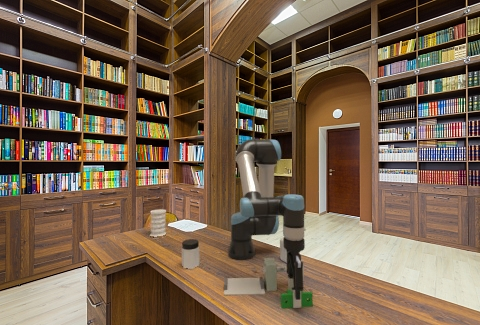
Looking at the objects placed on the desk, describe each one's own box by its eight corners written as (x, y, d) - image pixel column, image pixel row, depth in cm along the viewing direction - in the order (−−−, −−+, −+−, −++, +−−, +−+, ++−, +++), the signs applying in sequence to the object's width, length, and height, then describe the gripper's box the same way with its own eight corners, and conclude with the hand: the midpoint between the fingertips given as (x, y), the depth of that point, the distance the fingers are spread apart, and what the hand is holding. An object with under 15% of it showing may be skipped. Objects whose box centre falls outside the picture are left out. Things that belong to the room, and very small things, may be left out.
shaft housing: (264, 281, 94) (264, 258, 94) (273, 281, 94) (273, 258, 94) (266, 290, 87) (266, 265, 87) (276, 290, 87) (276, 265, 87)
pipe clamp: (308, 300, 81) (308, 287, 81) (312, 306, 77) (312, 293, 78) (278, 302, 80) (278, 289, 80) (281, 308, 76) (281, 295, 76)
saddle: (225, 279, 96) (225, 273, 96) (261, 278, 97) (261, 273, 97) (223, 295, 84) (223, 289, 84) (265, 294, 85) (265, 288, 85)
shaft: (262, 275, 94) (262, 256, 94) (299, 274, 94) (299, 255, 94) (264, 282, 88) (263, 262, 88) (303, 281, 88) (303, 261, 88)
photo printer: (278, 259, 116) (278, 236, 117) (285, 257, 119) (284, 234, 119) (292, 267, 107) (292, 241, 108) (298, 265, 110) (298, 240, 110)
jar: (200, 262, 114) (200, 238, 114) (197, 269, 106) (197, 244, 106) (183, 262, 114) (183, 239, 114) (179, 269, 106) (179, 244, 106)
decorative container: (149, 239, 150) (149, 213, 151) (149, 234, 161) (149, 209, 162) (167, 237, 155) (167, 211, 155) (166, 232, 165) (166, 208, 166)
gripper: (313, 246, 71) (314, 319, 70) (296, 229, 90) (297, 287, 89) (290, 246, 71) (291, 319, 70) (278, 230, 89) (279, 287, 89)
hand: (294, 301), depth 80 cm, fingers open, 6 cm apart
